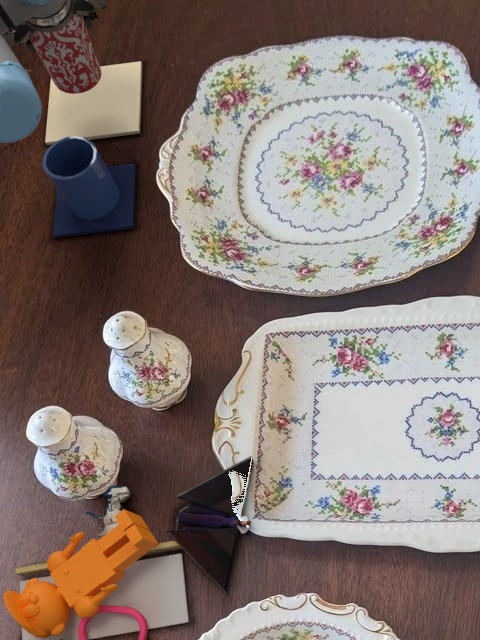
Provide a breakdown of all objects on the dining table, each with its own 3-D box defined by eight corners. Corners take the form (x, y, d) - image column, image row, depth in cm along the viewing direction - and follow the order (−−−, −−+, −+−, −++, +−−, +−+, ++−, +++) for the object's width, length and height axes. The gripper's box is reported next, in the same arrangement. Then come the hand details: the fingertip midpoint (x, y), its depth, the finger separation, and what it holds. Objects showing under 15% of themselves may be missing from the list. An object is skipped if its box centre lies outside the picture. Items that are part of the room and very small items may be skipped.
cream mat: (46, 145, 125) (44, 142, 124) (53, 75, 130) (51, 72, 130) (140, 133, 124) (138, 130, 124) (142, 64, 130) (141, 61, 129)
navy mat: (54, 238, 118) (52, 235, 117) (59, 175, 122) (57, 172, 122) (133, 228, 118) (132, 225, 117) (135, 165, 122) (134, 163, 122)
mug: (108, 95, 119) (72, 10, 107) (47, 102, 119) (5, 18, 106) (108, 38, 124) (74, -49, 112) (50, 45, 124) (10, -42, 111)
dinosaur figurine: (151, 548, 97) (138, 484, 102) (127, 536, 94) (114, 471, 99) (117, 568, 98) (105, 504, 103) (91, 557, 95) (81, 492, 100)
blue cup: (69, 225, 119) (40, 182, 110) (72, 184, 122) (44, 139, 113) (120, 218, 118) (95, 175, 110) (122, 178, 121) (97, 132, 113)
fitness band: (78, 652, 94) (73, 653, 93) (85, 603, 95) (79, 603, 94) (145, 657, 94) (141, 658, 93) (151, 608, 95) (147, 608, 94)
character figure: (185, 448, 101) (265, 455, 100) (191, 457, 103) (269, 464, 103) (152, 584, 94) (238, 593, 93) (159, 590, 96) (243, 599, 96)
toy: (176, 562, 95) (145, 551, 88) (57, 655, 95) (15, 652, 87) (138, 503, 98) (104, 488, 91) (22, 593, 98) (-22, 585, 90)
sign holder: (22, 570, 98) (25, 651, 96) (14, 568, 97) (18, 650, 94) (185, 542, 98) (193, 622, 96) (180, 539, 97) (189, 621, 94)
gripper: (-23, 58, 98) (6, 84, 119) (132, -8, 101) (134, 28, 121) (-61, -7, 95) (-24, 31, 116) (101, -74, 98) (108, -25, 118)
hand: (57, 30), depth 118 cm, fingers closed on mug, 8 cm apart
